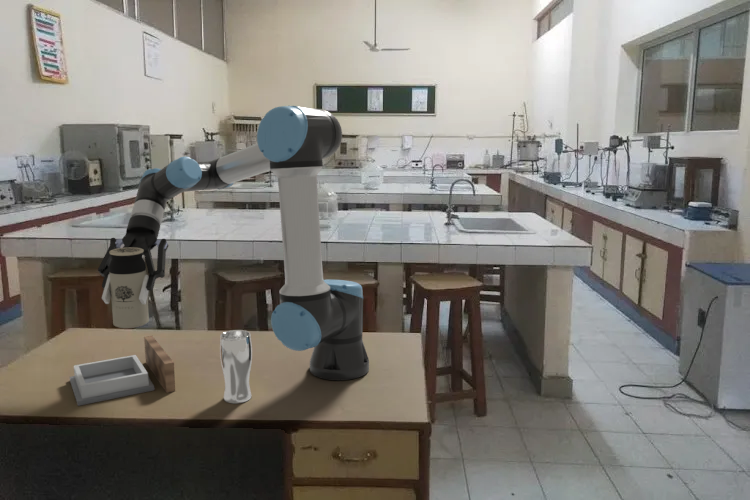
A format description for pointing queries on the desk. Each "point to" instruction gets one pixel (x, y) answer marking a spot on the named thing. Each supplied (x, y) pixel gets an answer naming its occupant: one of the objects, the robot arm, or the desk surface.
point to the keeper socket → (109, 379)
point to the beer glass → (236, 364)
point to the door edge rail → (160, 364)
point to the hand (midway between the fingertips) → (123, 301)
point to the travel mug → (127, 287)
